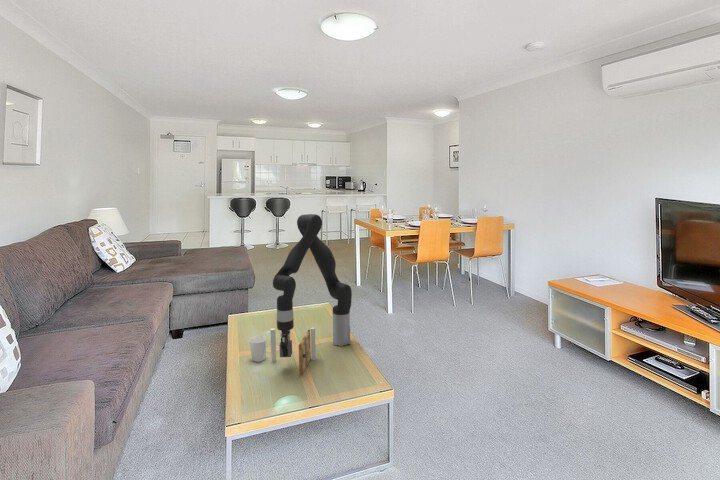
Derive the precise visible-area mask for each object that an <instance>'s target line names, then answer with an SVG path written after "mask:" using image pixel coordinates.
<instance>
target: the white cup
mask: <svg viewBox="0 0 720 480" xmlns="http://www.w3.org/2000/svg"><path fill="white" fill-rule="evenodd" d="M267 339H268V338H267V337H266V336H263V335H262V336H261V335H260V336H254V337H253V336H252V338H250V339H249V344H250V353H251V354H250V355H251V360H252V361H253V362H256V363H257V362H264V361H265V360H266V359H267V348H268V347H267V346H268V345H267Z"/></svg>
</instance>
